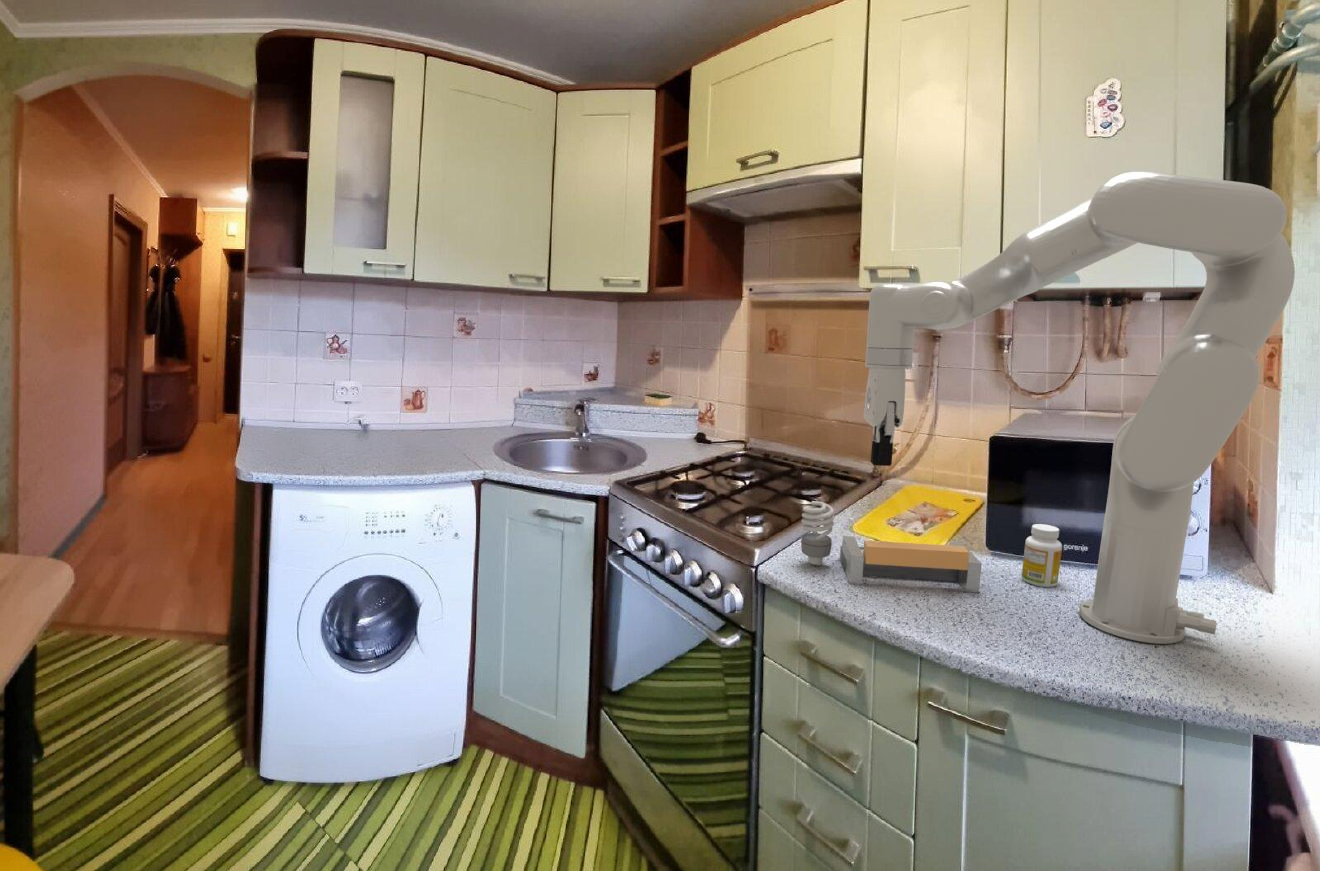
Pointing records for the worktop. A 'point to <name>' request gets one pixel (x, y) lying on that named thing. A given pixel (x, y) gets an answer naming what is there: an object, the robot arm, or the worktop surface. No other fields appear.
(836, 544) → the worktop surface
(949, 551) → the orange long rectangular bar
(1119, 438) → the robot arm
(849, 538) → the holder stand
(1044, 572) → the supplement bottle
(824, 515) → the light bulb
